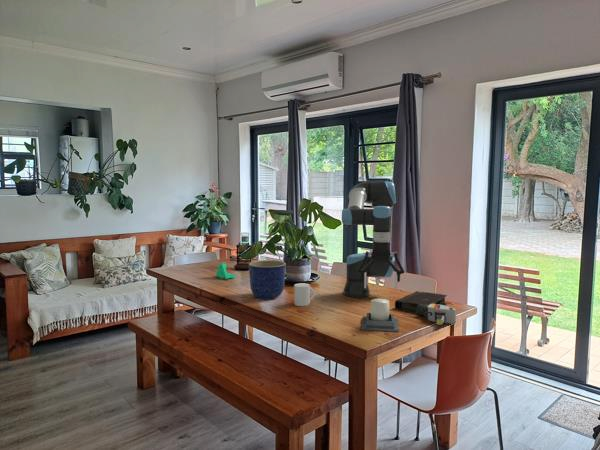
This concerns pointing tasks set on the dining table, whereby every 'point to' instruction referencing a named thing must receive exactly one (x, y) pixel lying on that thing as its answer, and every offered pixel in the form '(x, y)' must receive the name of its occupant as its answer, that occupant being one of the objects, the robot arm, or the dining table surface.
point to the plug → (379, 310)
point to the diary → (419, 300)
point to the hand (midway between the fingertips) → (380, 288)
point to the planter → (267, 278)
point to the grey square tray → (380, 324)
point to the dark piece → (241, 265)
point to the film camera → (437, 313)
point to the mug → (302, 294)
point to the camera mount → (223, 272)
